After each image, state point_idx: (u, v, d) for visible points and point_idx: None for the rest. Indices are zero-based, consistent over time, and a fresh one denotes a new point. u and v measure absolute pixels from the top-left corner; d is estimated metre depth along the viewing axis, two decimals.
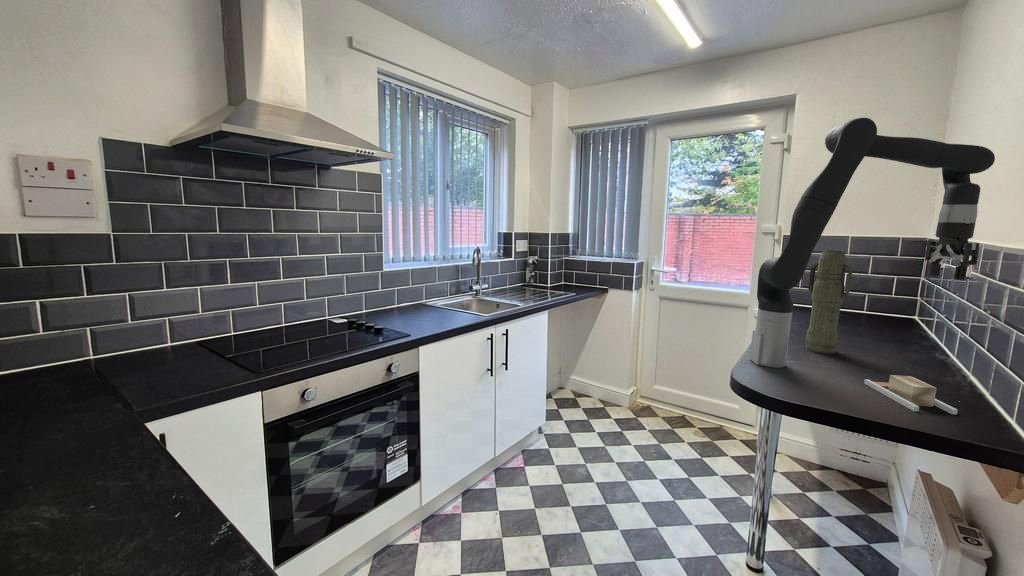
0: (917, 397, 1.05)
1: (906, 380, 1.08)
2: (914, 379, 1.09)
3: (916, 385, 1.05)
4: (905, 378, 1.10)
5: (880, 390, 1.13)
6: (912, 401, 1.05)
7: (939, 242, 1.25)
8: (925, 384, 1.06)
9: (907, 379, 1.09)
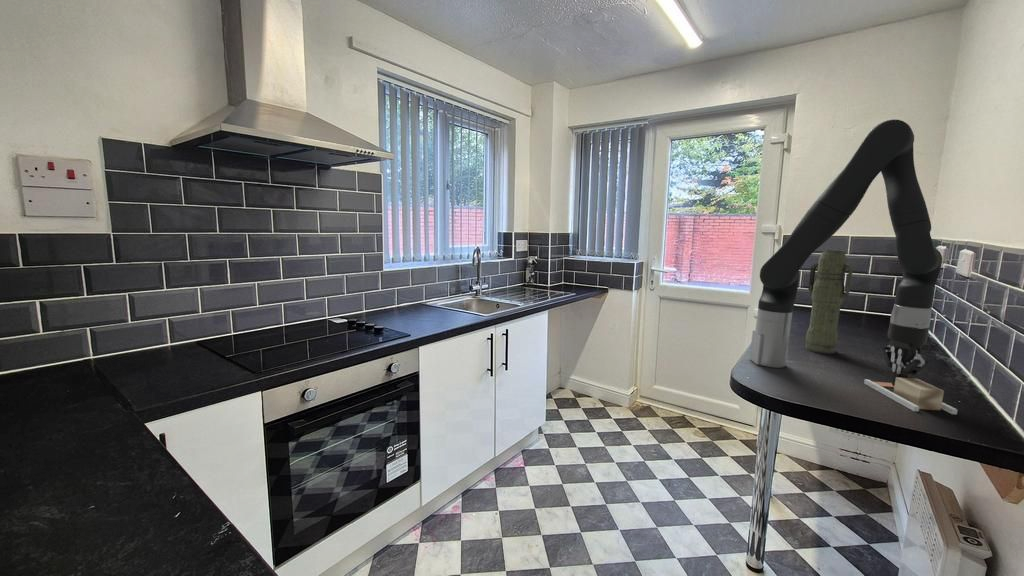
0: (924, 400, 1.02)
1: (912, 383, 1.06)
2: (920, 382, 1.07)
3: (923, 387, 1.03)
4: (911, 381, 1.08)
5: (880, 390, 1.13)
6: (919, 404, 1.03)
7: (891, 342, 1.14)
8: (932, 387, 1.04)
9: (913, 382, 1.07)
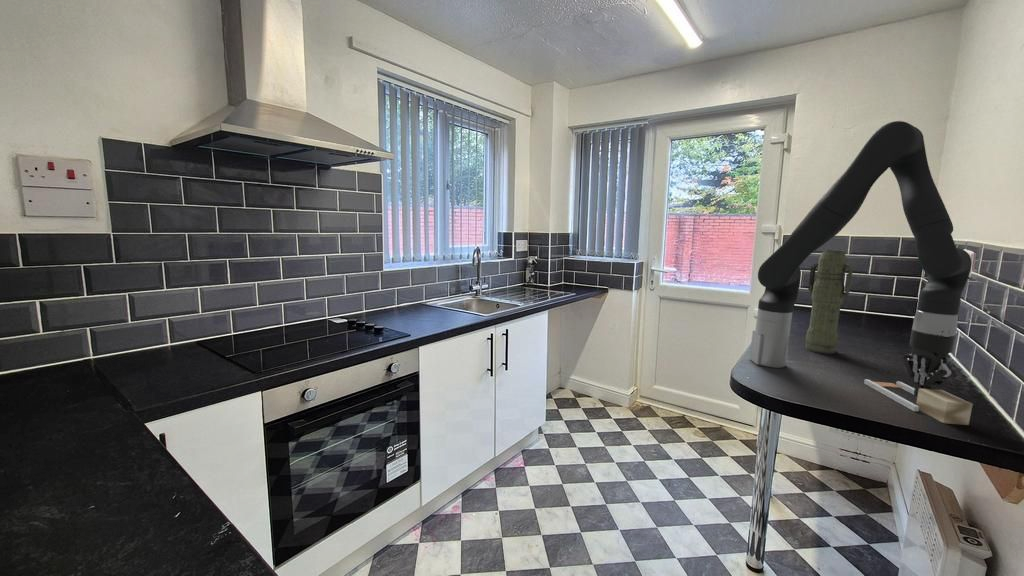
0: (951, 413, 0.95)
1: (938, 394, 0.99)
2: (946, 393, 1.00)
3: (950, 400, 0.96)
4: (936, 392, 1.00)
5: (880, 390, 1.13)
6: (945, 418, 0.95)
7: (913, 350, 1.07)
8: (959, 399, 0.96)
9: (938, 393, 1.00)
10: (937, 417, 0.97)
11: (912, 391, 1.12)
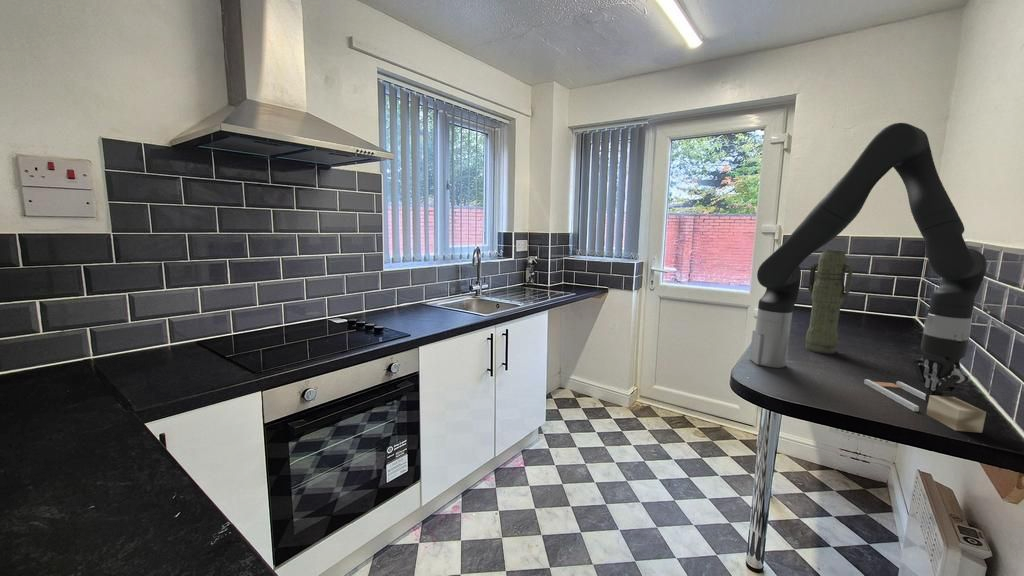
0: (963, 422, 0.92)
1: (949, 402, 0.95)
2: (958, 401, 0.96)
3: (962, 408, 0.92)
4: (948, 399, 0.97)
5: (880, 390, 1.13)
6: (958, 427, 0.92)
7: (924, 355, 1.03)
8: (972, 407, 0.93)
9: (950, 401, 0.96)
10: (949, 425, 0.94)
11: (912, 391, 1.12)
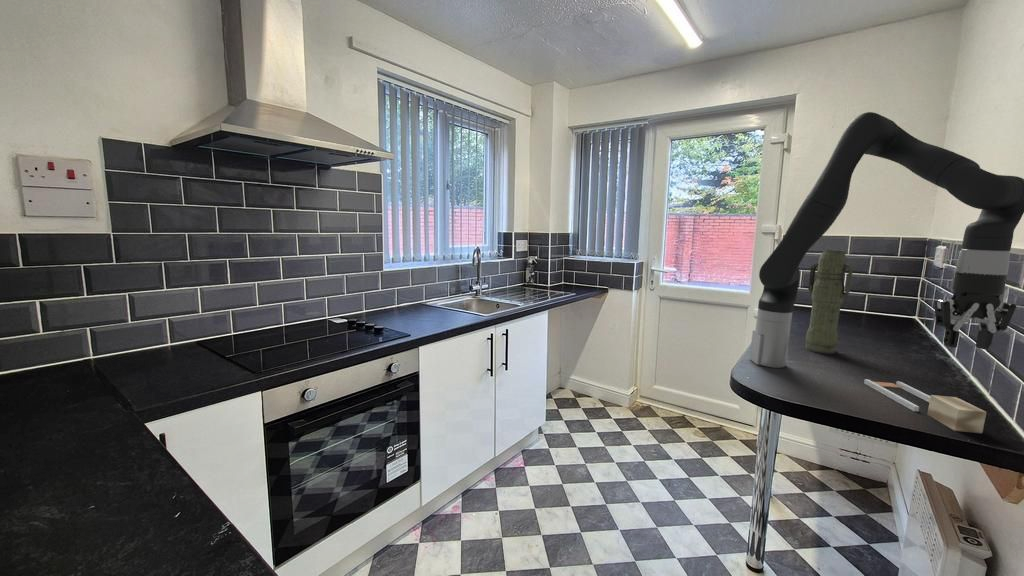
0: (962, 421, 0.92)
1: (950, 402, 0.95)
2: (959, 401, 0.96)
3: (962, 407, 0.92)
4: (949, 399, 0.97)
5: (880, 390, 1.13)
6: (957, 426, 0.92)
7: None
8: (973, 407, 0.93)
9: (951, 400, 0.96)
10: (948, 425, 0.94)
11: (912, 391, 1.12)
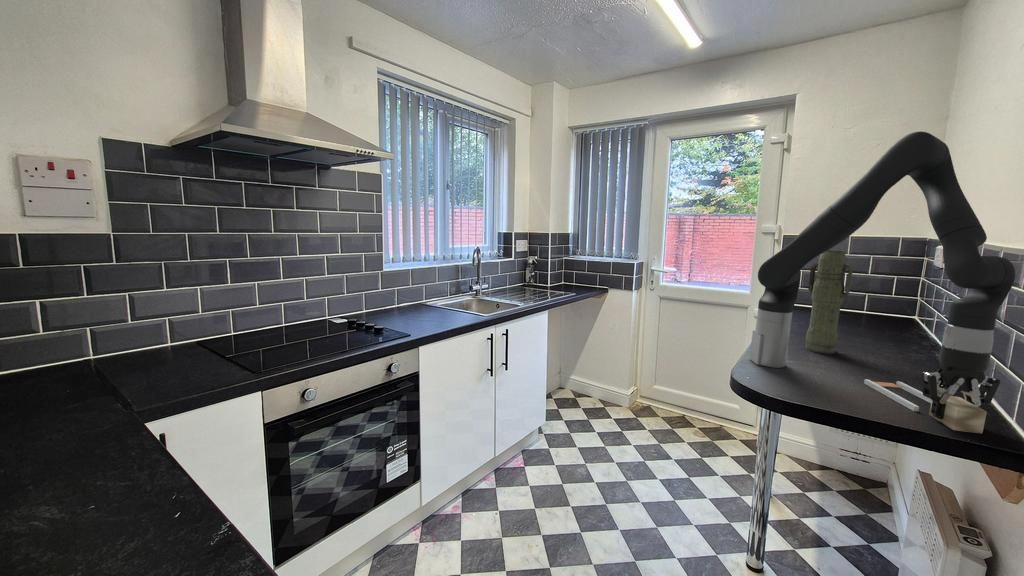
0: (962, 420, 0.92)
1: (951, 401, 0.95)
2: (961, 400, 0.96)
3: (962, 407, 0.92)
4: (950, 399, 0.97)
5: (880, 390, 1.13)
6: (956, 425, 0.92)
7: None
8: (973, 407, 0.93)
9: (952, 400, 0.96)
10: (948, 424, 0.94)
11: (912, 391, 1.12)
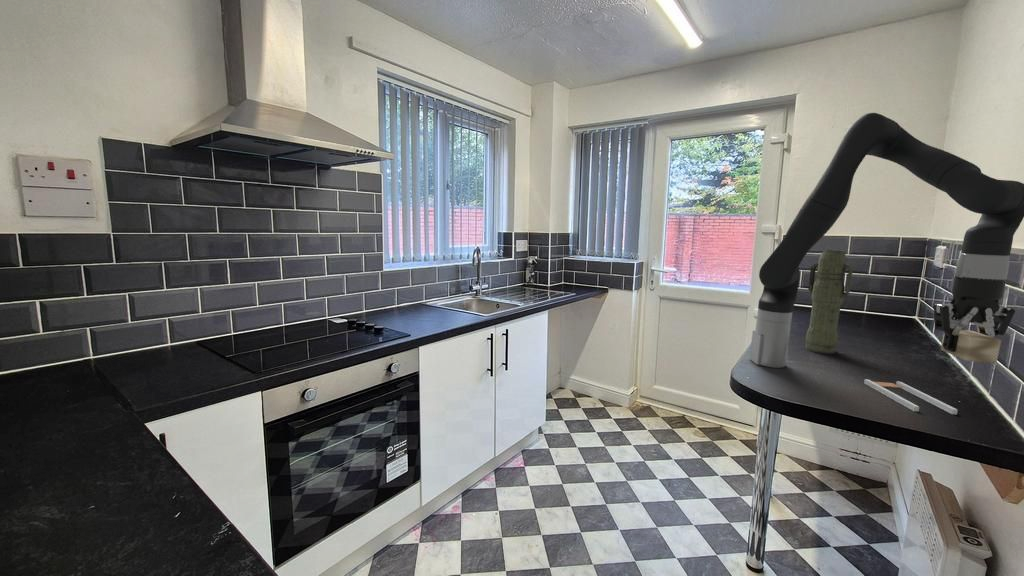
0: (975, 350, 0.89)
1: (964, 333, 0.93)
2: (974, 333, 0.93)
3: (975, 336, 0.90)
4: (963, 331, 0.94)
5: (880, 390, 1.13)
6: (969, 355, 0.90)
7: None
8: (987, 337, 0.90)
9: (965, 332, 0.93)
10: (961, 355, 0.91)
11: (912, 391, 1.12)
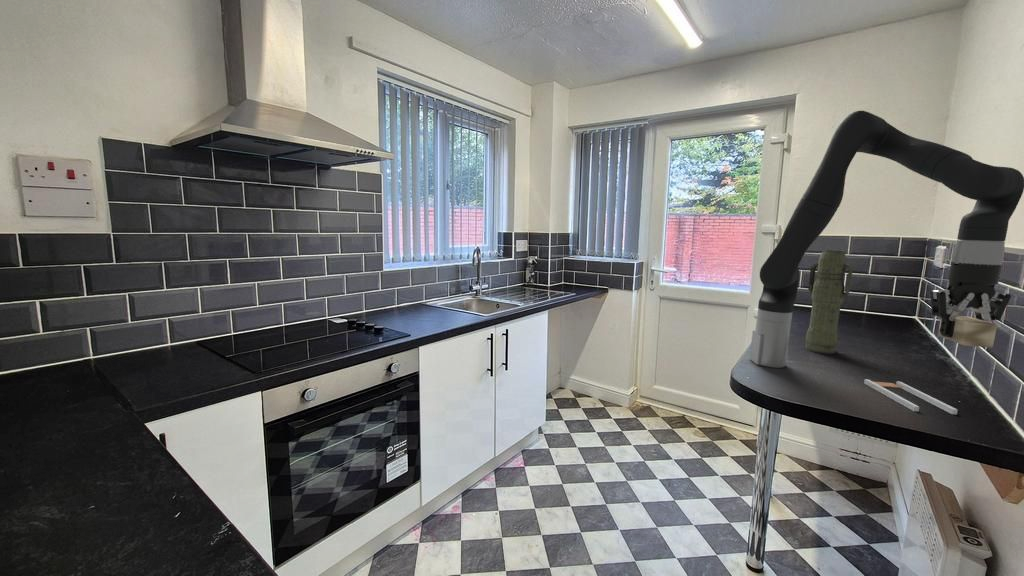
0: (972, 335, 0.90)
1: (960, 318, 0.94)
2: (971, 318, 0.94)
3: (971, 321, 0.91)
4: (960, 317, 0.95)
5: (880, 390, 1.13)
6: (966, 340, 0.91)
7: None
8: (984, 322, 0.91)
9: (962, 318, 0.94)
10: (958, 340, 0.92)
11: (912, 391, 1.12)
